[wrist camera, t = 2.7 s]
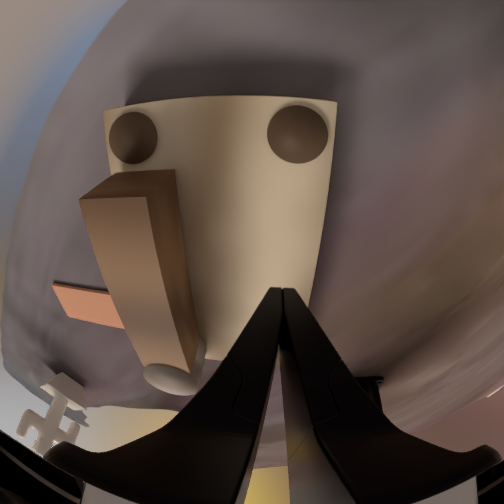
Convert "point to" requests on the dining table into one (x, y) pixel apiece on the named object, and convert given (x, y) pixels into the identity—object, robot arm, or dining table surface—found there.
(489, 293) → the dining table surface
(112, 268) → the walnut leg
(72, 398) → the figurine
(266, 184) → the birch seat
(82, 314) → the marker strip
